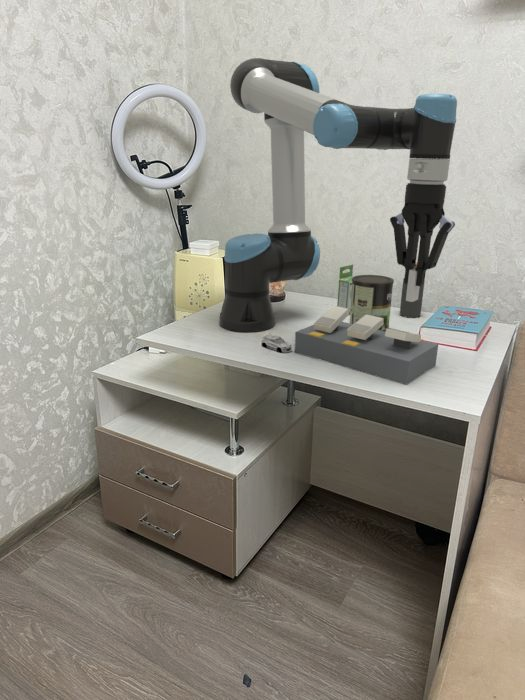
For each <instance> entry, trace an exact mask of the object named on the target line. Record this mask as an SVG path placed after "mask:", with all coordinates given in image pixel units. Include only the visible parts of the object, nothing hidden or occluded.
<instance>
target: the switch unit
mask: <svg viewBox="0 0 525 700" xmlns="http://www.w3.org/2000/svg"><path fill="white" fill-rule="evenodd" d="M352 325H353V324H350V322H345V321H342V322H341V323H340V324H339V325H338V326H337V327H336V328H335V329H334V330H333V331H332V332H331V333H327V332H323V331H319V330H315V329H314V324H312V325H309V326H307V327H304V328H301V329H299V330H296V331H295V332H294V335H295V337H294V338H295V339H294V353H296V354H300V355H303V356H307V357H310V358H314V359H317V360H320V361H324V362H328V363H331V364H334V365H338V366H342V367H344V368H348V369H351V370H355V371H358V372H362V373H364V374H368V375H372V376H375V377H378V378H382V379H385V380H389V381H392V382H396V383H399V384H402V385H405V386H406V385H408V384H410V383H411V382H413V381H414V380H416V379H418V378H419V377H420V376H422V375H424V374H425V373H427V372H428V371H430V370H432V368H434V367H436V364H437V356H438V348H439V343H437V342H432V341H428V340H424V339H423V338H420V343H419V342H411V341H403V340H399V339H395V338H391V337H387V336H385V331H380V330H377V331H375V332H374V333H373V334H372V335H371V336H369V337H368V338H367V339H366V340H363V339H359V338H355V337H351V336H348V335H347V329H348V328H349V327H351V326H352Z"/></svg>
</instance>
